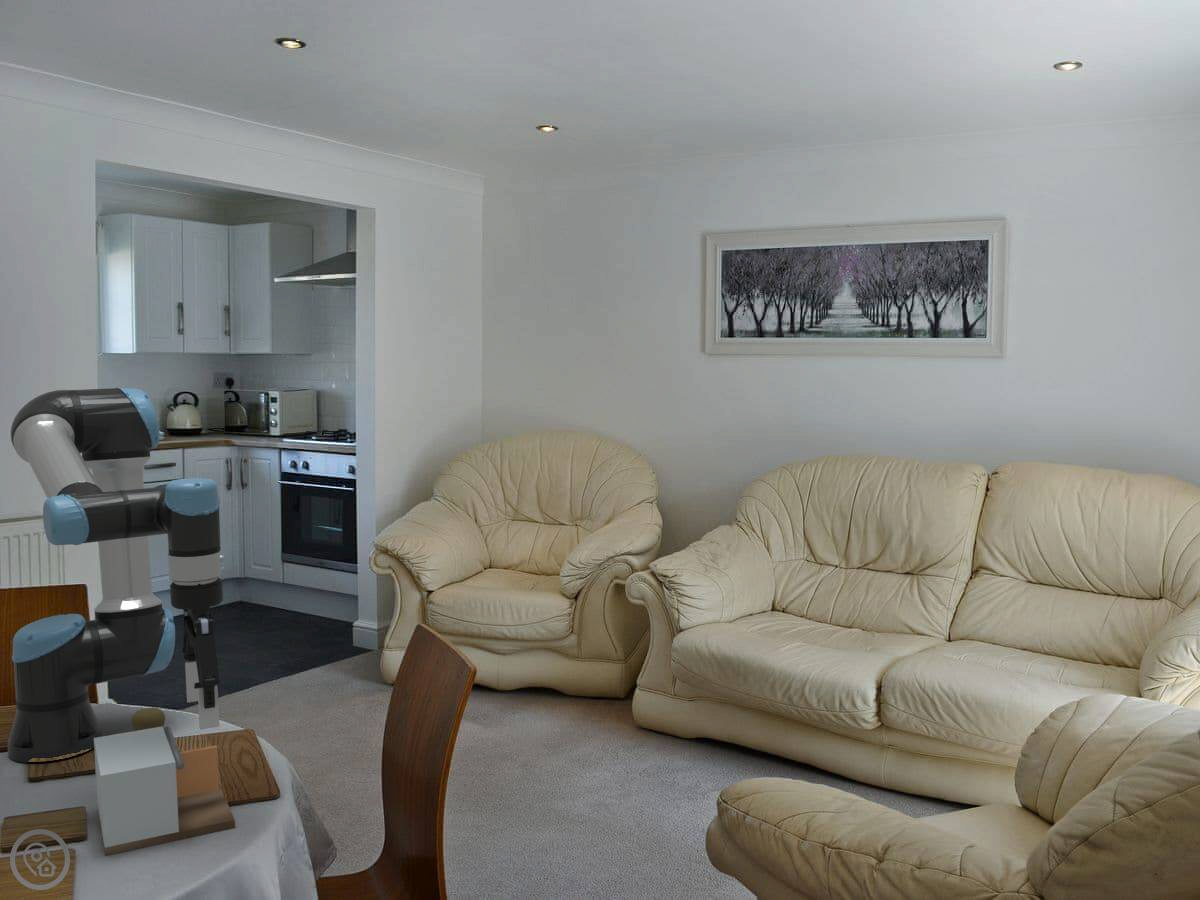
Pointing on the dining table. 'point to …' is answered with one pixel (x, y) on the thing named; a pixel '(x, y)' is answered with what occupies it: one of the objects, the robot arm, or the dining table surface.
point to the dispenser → (137, 784)
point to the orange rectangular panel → (198, 772)
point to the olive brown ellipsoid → (148, 719)
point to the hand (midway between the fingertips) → (202, 713)
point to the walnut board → (189, 820)
